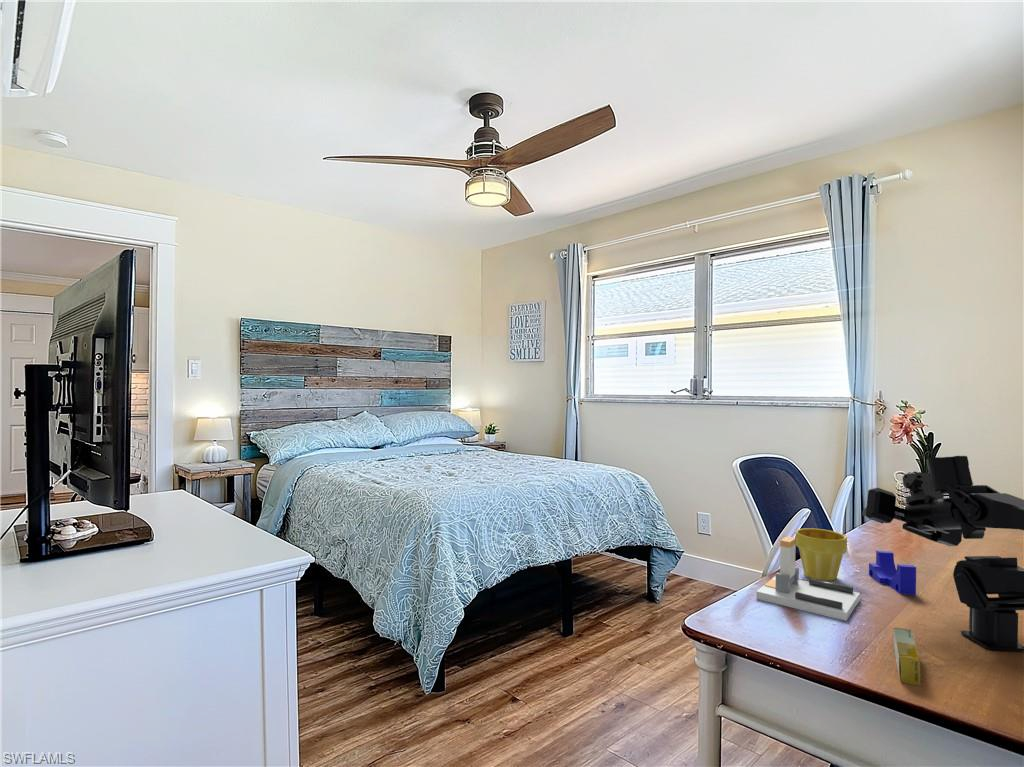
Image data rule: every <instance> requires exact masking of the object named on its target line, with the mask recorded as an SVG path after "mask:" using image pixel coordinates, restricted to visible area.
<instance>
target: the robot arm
mask: <svg viewBox="0 0 1024 767" xmlns="http://www.w3.org/2000/svg"><path fill="white" fill-rule="evenodd" d="M925 461H926V464H927V470H928V473H925V472H921V471H919V472H917V471H913V472H911V471H909V472H907V473H906V474H904V475H903V476H902V483H903V487H904V488H905V489H907V490H909V494H910V496H909V495H908V496H907V495H906V497H905V502H906V503H907V505H906V506H905V507H904V508H903V507H899V506H896V501H897V496H896V494H894V492H892V491H889V490H886V489H883V488H880V487H873V488H870V489H868V490H867V500H866V507H865V508H863V509H862V516H863V517H866V518H867V519H868V520H869V519H870V520H871V521H875V522H876V523H879V524H883V525H884V524H890V523H892V522H893V520H894V519H895V520H897V521H900V522H903V523H902V528H901V529H903V530H905V531H907V532H909V533H912V534H915V535H917V536H919V537H922V538H924V539H926V540H929V541H933V542H935V543H938V544H941V545H945V546H948V547H958V546H959V545H960V544H961V543H962V541H963V539H964V540H982V539H984V537H985V532H986V531H987V528H989V529H1003V530H1004V529H1005V530H1006V529H1007V530H1008V529H1009V530H1020V531H1024V499H1023V498H1021V497H1018V496H1014V495H1012V494H1009V493H1006V492H1005V493H1004V492H1003V493H1001V492H999V491H997V490H995V489H994V488H992V487H991V486H989V485H986V484H985V485H984V484H981V485H980V484H977V485H976V484H975V485H974V482H973V479H972V475H971V471H970V466H969V465H970V463H969V458H968V456H967V455H953V456H944V457H941V456H938V457H929V458H927V459H926V460H925ZM944 495H948V497H945V496H944ZM952 574H953V575H952V576H953V581H954V584H955V587H956V591H957V595H958V599H959V601H960V603H962V604H964V605H966V608H967V607H968V608H969V619H968V620H969V622H968V623H969V624H968V629H969V630H961V631H960V634H961V635H963V636H965V637H966V638H968V639H969V640H971V641H973V642H974V643H977V644H978V645H980V646H981V647H983V648H985V649H987V650H990V651H1013V652H1014V651H1015V652H1016V651H1017V652H1018V651H1019V652H1024V645H1023V644H1021V643H1019V613H1018V612H1017V611H1024V568H1023V567H1022V566H1019V565H1018V557H1001V556H999V555H979V556H978V555H977V556H976V555H971V556H970V555H969V556H966V555H965V556H964V559H963V560H959V561H957V562H956V564H955V566H954V570H953V573H952ZM988 595H998V596H997V597H996V596H995V597H991V596H988Z"/></svg>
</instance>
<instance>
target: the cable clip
mask: <svg viewBox="0 0 1024 767" xmlns="http://www.w3.org/2000/svg"><path fill="white" fill-rule="evenodd" d="M894 556H895V555H894V552H893V551H890V550H889V551H887V550H875V562H868V576H869V577H871V578H872V579H873V580H874V581H876V582H877V583H878V584H880V585H887V586H889V587H890V588H891V589H893V590H894V591H896V593H898V594H899V595H908V596H909V595H911V596H917V566H915V565H913V564H900V563H897V564H895V558H894Z"/></svg>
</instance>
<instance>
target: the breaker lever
mask: <svg viewBox="0 0 1024 767" xmlns="http://www.w3.org/2000/svg"><path fill="white" fill-rule="evenodd" d="M779 542H780V543H779V544H780V545H779V547H780V548H779V549H780V551H779V552H780V553H779V554H780V555H779V557H780V558H779V573H782V574H786V575H790V584H791V583H792V582H793V581H794V580H795V576H794V575H795V567H796V547H797V546H796V537H792V536H785V537H783V538H782V539H780V541H779Z"/></svg>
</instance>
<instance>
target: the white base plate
mask: <svg viewBox="0 0 1024 767" xmlns="http://www.w3.org/2000/svg"><path fill="white" fill-rule="evenodd" d="M799 569H800V567H799V566H795V575H794V576H795V580H794V581H793V582H792V583H791V584H790V575H786V574H782V573H780V572H776V573H775V575H774V577H772V578H770V579H769V581H767V582H766V583H765V584H764V585H763V586H761V587H760V588H759V589H757V590H756V597H755V598H756V600H760V601H764V602H768V603H772V604H776V605H780V606H784V607H788V608H792V609H796V610H801V611H804V612H809V613H812V614H818V615H821V616H825V617H829V618H833V619H838V620H841V621H846V622H847V621H848V619H849V617H850V616H851V614H852V612H854V610H855V608H856V606H858V604H859V602H860V600H861V593H860V592H858V591H854V589H855V588H854V587H852V586H848V585H843V584H838V583H834V582H830V581H824V580H817V579H813V578H809V579H808V581H806V580H803V579H799V578H800V577H799V576H800V575H799V574H800V570H799Z"/></svg>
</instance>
